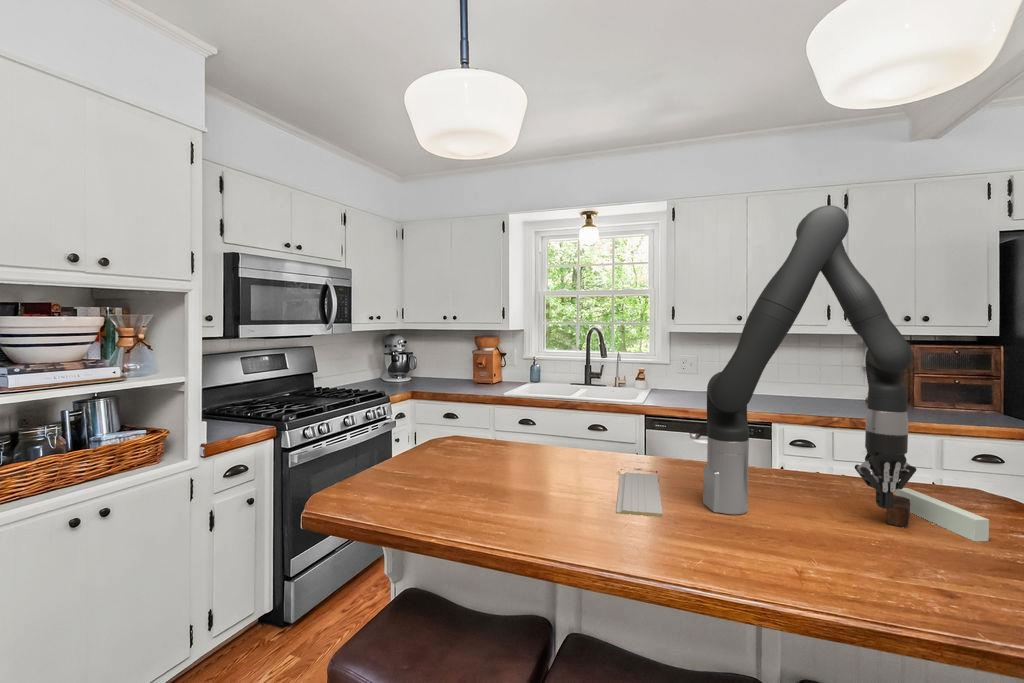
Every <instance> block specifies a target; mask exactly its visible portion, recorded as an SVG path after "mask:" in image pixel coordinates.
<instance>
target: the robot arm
mask: <svg viewBox="0 0 1024 683" xmlns="http://www.w3.org/2000/svg"><path fill="white" fill-rule="evenodd" d="M849 222H850V221H849V217H848V215H847V212H845V210H844V209H842V208H841V207H839V206H837V205H832V204H831V205H823V206H819V207H816V208H814V209H813V210H811V211H810V212H808V213H807V214H806V215H805V216H804V217H803V218H802V219H801V221H800V222H799V223H798V225H797V228H796V232H795V236H796V239H795V242H794V244H793V246H792V248H791V250H790V252H789V254H788V256H787V257H786V259H785V260H784V262H783V263H782V265H781V266H780V267H779V268H778V270H777V271H776V272H775V274H774V275H773V276H772V277H771V279H770V280H769V281H768V283H767V284H766V285H765V287H764V288H763V290H762V291H761V293H760V295H759V296H758V298H757V300H756V301H755V303H754V305H753V306H752V308H751V310H750V312H749V314H748V316H747V319H746V321H745V323H744V326H743V327H742V328H743V329H742V331H741V334H740V338H739V341H738V343H737V346H736V349H735V350H734V353H733V354H732V356H731V357H730V359H729V360H728V362H727V364H726V365H725V366H724V368H723V369H722V371H719V372H716V373H715V374H713V376H711V378H709V380H708V383H707V386H706V427H707V434H706V436H707V443H706V444H707V445H706V446H707V447H706V448H707V449H706V450H707V452H706V454H707V456H706V458H707V459H706V465H704V466H703V486H702V487H703V490H702V492H703V494H702V495H703V497H702V502H703V503H702V504H703V505H705V506H706V507H707V508H708V509H709V510H711V511H712V512H713V513H721V514H727V515H743V514H746V513H747V512H748V508H749V458H750V457H749V456H750V455H749V453H750V452H749V451H750V450H749V449H750V448H749V447H750V444H749V443H750V439H749V438H750V428H749V423H748V422H749V421H748V405H749V403H750V401H751V399H752V397H753V395H754V393H755V390H756V387H758V386H757V385H758V383H759V381H760V378H761V376H762V375H763V372H764V371H765V368H766V367H767V364H768V363H769V362H770V360H771V359H772V357H773V356H774V355H775V353H776V352H777V350H778V348H779V347H780V345H781V344H782V342H783V341H784V339H785V338H786V336H787V334H788V333H789V332H790V329H791V328H792V327H793V325H794V323H795V321H796V320H797V318H798V315H800V312H801V311H802V308H803V306H804V304H805V303H806V301H807V299H808V298H809V295H810V293H811V291H812V289H813V286H814V284H815V282H816V280H817V278H818V276H819V274H820V273H822V275H823V277H824V278H825V280H826V281H827V283H828V285H829V287H830V288H831V290H832V292H833V294H834V296H835V297H836V299H837V302H838V303H839V305H840V308H841V309H842V311H843V313H844V315H845V317H846V318H847V321H848V322H849V324H850V326H851V328H852V330H853V332H855V333H856V334H857V335H858V336H860V338H861V339H862V341H863V342H864V345H865V346H866V347H867V349H866V353H865V358H864V360H865V371H866V378H867V379H866V380H867V385H868V386H867V387H868V391H867V409H866V414H865V415H866V416H865V436H864V437H865V439H864V440H865V442H864V444H865V445H864V446H865V447H864V448H865V450H866V454H865V456H864V461H863V462H862V463H861V464H855V465H854V469H855V471H856V472H857V473H858V475H859V476H860V477H861V479H862V481H864V483H865V484H866V485H867V487H870V488H871V489H872V488H873V489H875V504H876V505H877V506H878V507H879V508H881V509H890V508H891V506H892V505H893V495H894V492H895V493H896V489H902V488H905V486H906V485H907V483H908V482H909V481H910V479H911V478H912V477H913V475H915V473H916V472H917V467H916V466H913V465H911V464H909V463H908V462H907V460H908V459H907V457H906V455H907V453H908V450H909V449H908V447H909V445H908V444H909V442H908V441H909V418H908V390H907V387H906V386H905V384H904V383H903V372H904V371H906V370H907V369H908V368H910V366H911V365H912V363H913V359H914V358H913V356H914V355H913V351H912V348H911V347H910V345H909V343H908V342H907V340H906V339H905V337H904V336H903V334H902V333H901V332H900V330H899V329H898V327H896V325H895V324H894V323H893V321H892V320H891V319H890V317H889V315H888V312H887V311H886V309H885V307H884V305H883V303H882V301H881V299H880V297H879V296H878V295H877V293H876V291H875V289H874V288H873V286H871V284H870V283H869V282H868V281H867V279H866V278H865V277H864V276H863V275H862V273H861V272H860V271H859V270H858V269H857V268H856V266H855V265H854V264H853V262H852V261H851V259H850V258H849V257H850V256H848V253H847V251H846V249H845V246H844V242H843V240H844V239H845V237H846V236H847V233H848V231H849V227H850V223H849Z"/></svg>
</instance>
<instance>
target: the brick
mask: <svg viewBox="0 0 1024 683" xmlns="http://www.w3.org/2000/svg"><path fill="white" fill-rule="evenodd" d="M885 514H886V518H885V521H886V522H885V523H886V525H887V524H888V525H887V526H892V525H893V527H897V526H898V528H902V527H904V528H903V529H906V528H907V527H908V525H909V521H910V514H911V513H910V499H907V498H905V497H901V496H896V494H893V505H892V506H891V508H890V509H886V512H885ZM905 527H906V528H905Z"/></svg>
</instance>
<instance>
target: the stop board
mask: <svg viewBox="0 0 1024 683" xmlns="http://www.w3.org/2000/svg"><path fill="white" fill-rule="evenodd" d="M895 495H896V496H901V497H905V498H907V499H910V512H911V513H910V514H912V513H913V514H912V515H914V514H915V515H914V516H916V515H917V517H918V516H919V517H918V518H921V517H922V518H921V519H923V518H924V519H923V520H925V519H926V520H925V521H927V520H928V522H930V523H932V522H933V524H934V523H935V524H934V525H936V524H937V525H936V526H939V527H941V528H944V529H945V528H946V529H945V530H948V531H950V532H953V533H954V534H957V535H960V536H961V537H963V538H966V539H968V540H969V541H973V542H989V541H990V540H989V535H990V534H989V532H990V519H989V518H985V517H983V516H981V515H978V514H976V513H973V512H972V511H971V512H970V511H968V510H966V509H963V508H960V507H958V506H956V505H952V504H950V503H948V502H945V501H942V500H941V499H940V500H939V499H937V498H934V497H932V496H929V495H927V494H924V493H922V492H919V491H916V490H915V489H911V488H908V487H903V488H902V489H896V490H895Z"/></svg>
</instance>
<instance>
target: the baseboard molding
mask: <svg viewBox="0 0 1024 683" xmlns="http://www.w3.org/2000/svg"><path fill="white" fill-rule="evenodd" d="M620 470H621V471H622V470H625V469H622V468H620ZM620 470H618V471H617V475H619V484H618V493H617V502H616V512H615V514H620V515H629V514H631V516H632V515H633V516H641V515H643V516H644V517H652V516H653V518H654V517H655V518H663V507H662V499H661V492H660V485H659V479H658V478H659V477H658V476H659V475H658V474H656V473H658V471H655V474H654V473H640V472H629V471H627V472H626V471H625V472H624V473H620V472H621V471H620ZM634 471H641V468H634ZM648 472H653V470H652V471H650V470H649V471H648ZM643 516H642V517H643Z"/></svg>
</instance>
